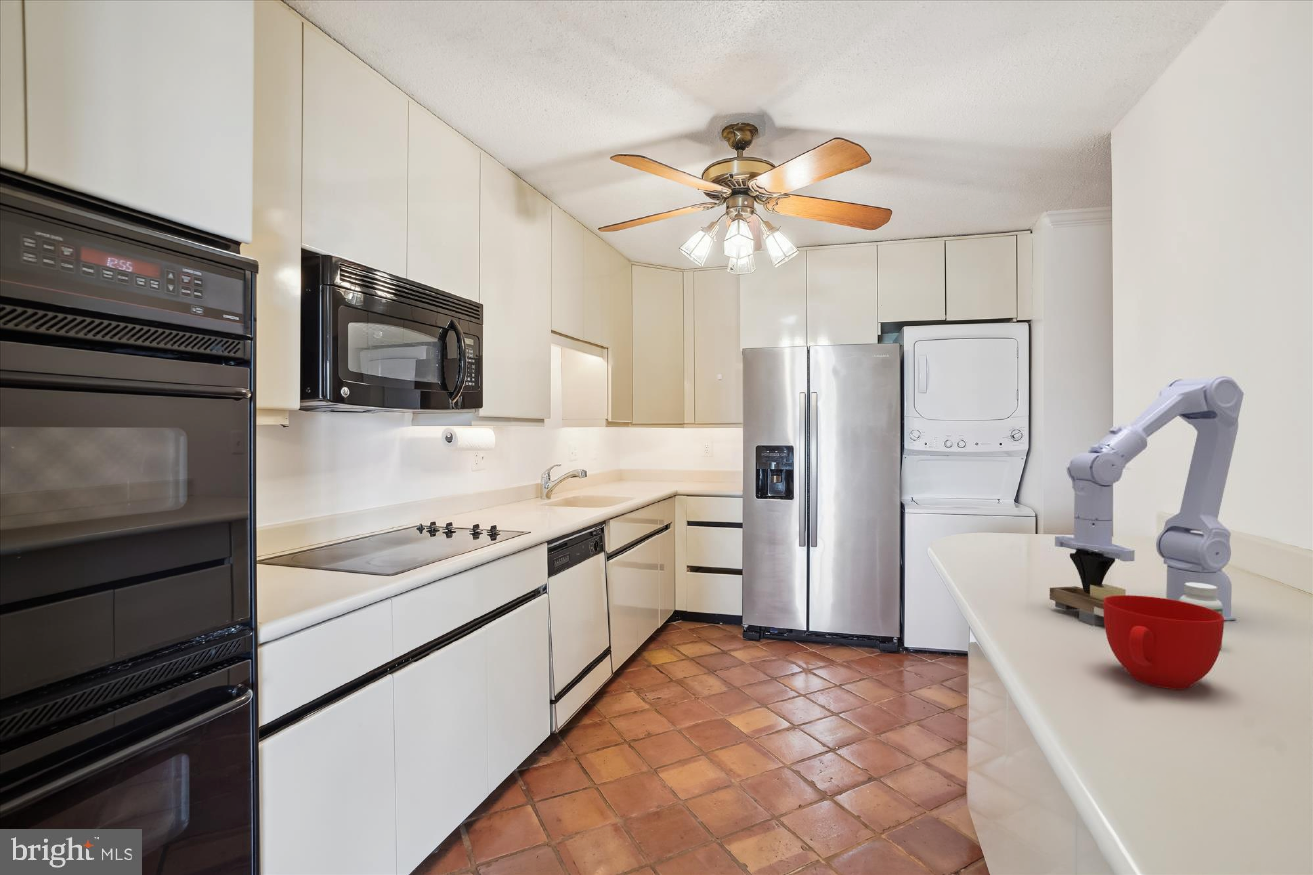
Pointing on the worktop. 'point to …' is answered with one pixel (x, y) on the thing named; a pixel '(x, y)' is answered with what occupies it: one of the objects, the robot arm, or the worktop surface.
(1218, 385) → the robot arm
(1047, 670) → the worktop surface
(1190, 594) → the supplement bottle
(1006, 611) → the worktop surface
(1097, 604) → the beam
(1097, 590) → the tan wooden block
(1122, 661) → the ceramic cup
